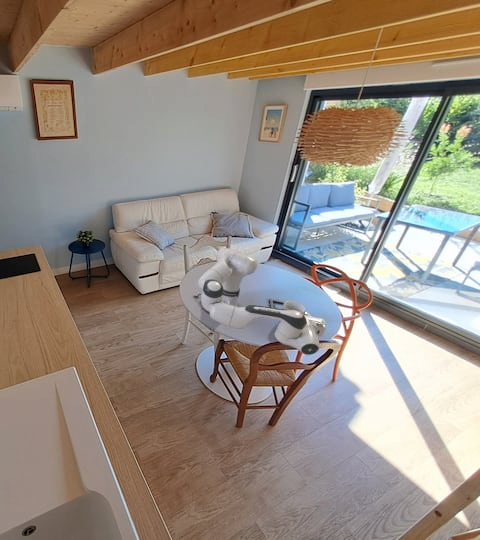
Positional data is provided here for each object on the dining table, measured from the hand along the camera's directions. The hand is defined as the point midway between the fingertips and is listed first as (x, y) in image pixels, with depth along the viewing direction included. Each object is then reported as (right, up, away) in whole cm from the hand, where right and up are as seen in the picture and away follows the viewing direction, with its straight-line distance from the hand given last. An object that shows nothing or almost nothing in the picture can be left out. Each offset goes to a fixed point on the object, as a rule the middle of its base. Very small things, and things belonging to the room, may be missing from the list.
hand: (300, 311), depth 153 cm
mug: (+4, -11, +18) cm, 21 cm away
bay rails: (+10, -3, +30) cm, 32 cm away
